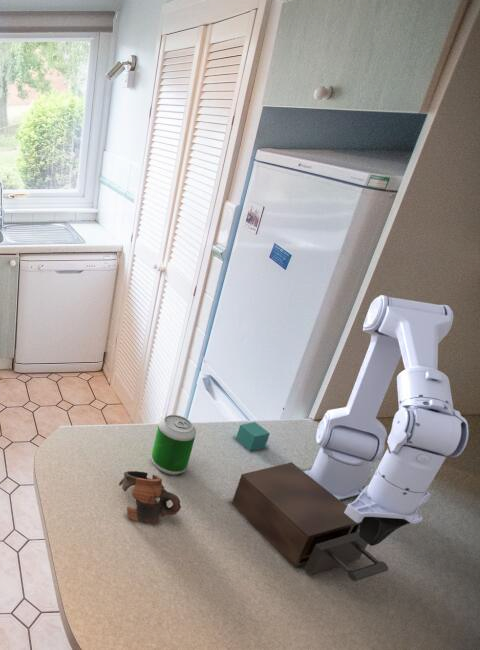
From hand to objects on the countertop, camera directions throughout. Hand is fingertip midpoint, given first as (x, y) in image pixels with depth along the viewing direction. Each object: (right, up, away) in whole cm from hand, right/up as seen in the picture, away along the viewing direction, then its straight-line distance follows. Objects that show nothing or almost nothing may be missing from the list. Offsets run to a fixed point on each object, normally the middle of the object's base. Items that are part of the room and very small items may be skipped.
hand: (367, 539), depth 74 cm
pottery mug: (-29, -3, +19) cm, 35 cm away
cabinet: (-3, -5, +15) cm, 16 cm away
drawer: (-2, -6, +10) cm, 12 cm away
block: (+3, +5, +36) cm, 36 cm away
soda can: (-20, +2, +29) cm, 35 cm away
